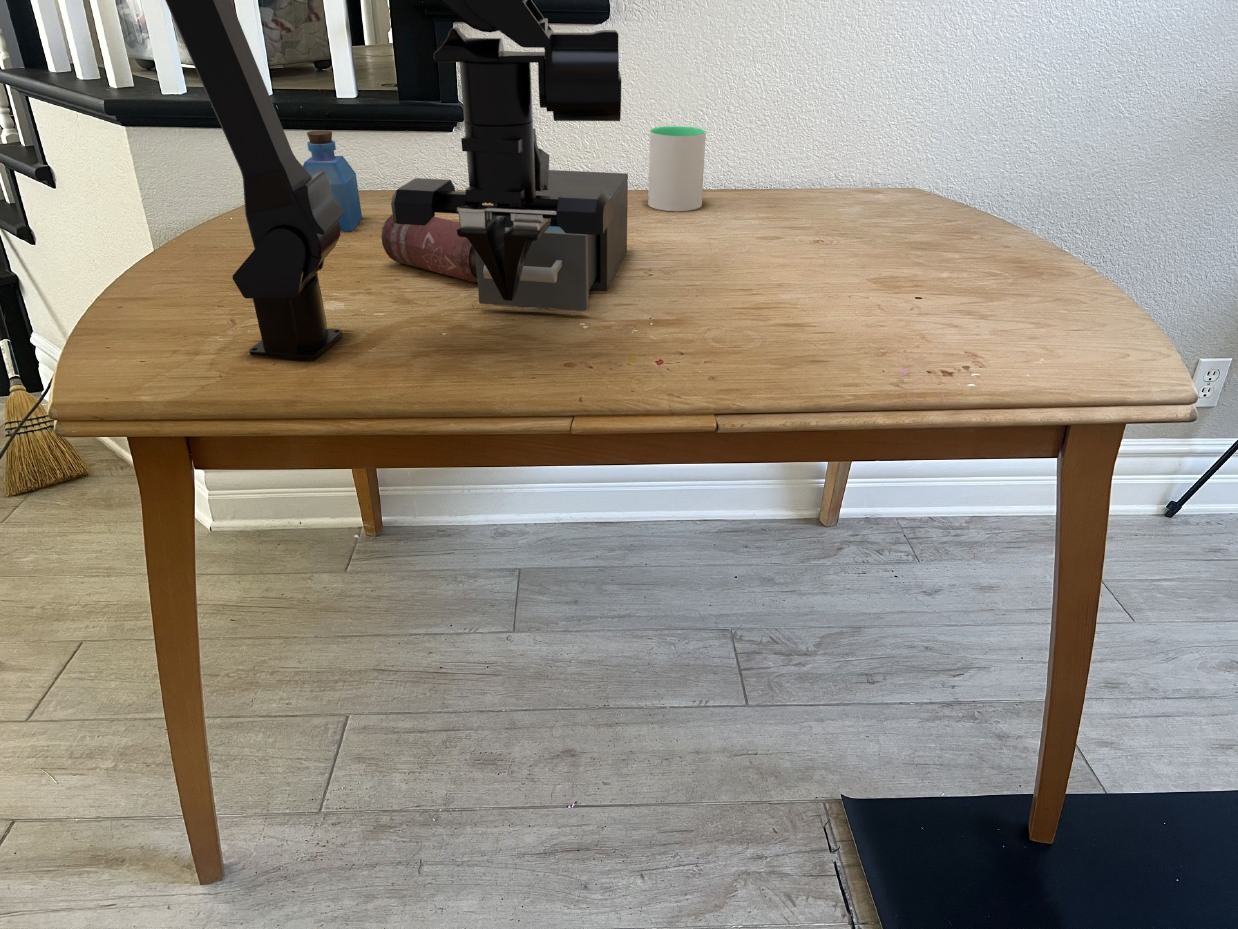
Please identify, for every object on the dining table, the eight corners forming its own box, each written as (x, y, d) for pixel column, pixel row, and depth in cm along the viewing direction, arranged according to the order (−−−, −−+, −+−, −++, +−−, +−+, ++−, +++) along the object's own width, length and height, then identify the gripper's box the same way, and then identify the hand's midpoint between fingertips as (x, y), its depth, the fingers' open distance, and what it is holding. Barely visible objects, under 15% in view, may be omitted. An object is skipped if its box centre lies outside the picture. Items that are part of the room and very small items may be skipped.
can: (408, 269, 105) (493, 292, 99) (372, 248, 100) (459, 271, 93) (425, 224, 105) (512, 243, 99) (390, 200, 100) (479, 219, 93)
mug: (635, 193, 134) (636, 122, 129) (684, 190, 136) (687, 120, 131) (656, 212, 124) (658, 137, 119) (709, 209, 126) (713, 134, 121)
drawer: (577, 327, 84) (576, 248, 80) (465, 319, 85) (458, 241, 81) (608, 269, 99) (609, 201, 95) (513, 263, 100) (509, 196, 96)
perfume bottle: (362, 218, 120) (349, 128, 114) (352, 231, 115) (337, 136, 108) (317, 218, 120) (302, 128, 114) (305, 231, 114) (288, 136, 108)
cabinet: (607, 290, 95) (607, 203, 90) (497, 283, 97) (492, 197, 92) (626, 251, 108) (628, 173, 103) (529, 246, 109) (526, 168, 104)
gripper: (623, 109, 77) (622, 277, 85) (426, 102, 80) (442, 266, 88) (601, 131, 68) (602, 318, 76) (378, 122, 70) (401, 304, 78)
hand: (509, 299), depth 79 cm, fingers closed
